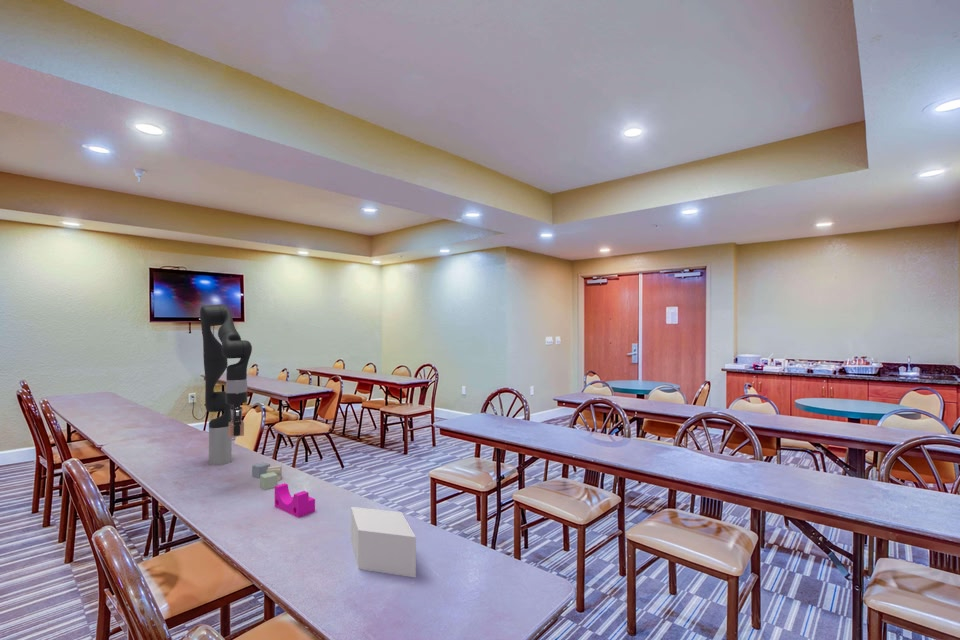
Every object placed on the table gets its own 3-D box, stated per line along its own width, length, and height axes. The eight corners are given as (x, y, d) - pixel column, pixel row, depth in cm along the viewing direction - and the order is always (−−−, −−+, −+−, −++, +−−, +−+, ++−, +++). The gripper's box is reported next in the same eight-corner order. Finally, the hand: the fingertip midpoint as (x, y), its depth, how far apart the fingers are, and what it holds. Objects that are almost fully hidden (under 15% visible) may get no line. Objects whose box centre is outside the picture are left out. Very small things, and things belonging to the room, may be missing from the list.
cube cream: (268, 478, 183) (268, 466, 183) (281, 477, 185) (281, 465, 185) (266, 482, 179) (266, 470, 179) (279, 481, 180) (280, 469, 180)
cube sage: (260, 487, 174) (260, 474, 174) (273, 484, 177) (273, 471, 177) (264, 490, 170) (264, 478, 170) (277, 487, 173) (277, 475, 173)
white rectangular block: (371, 532, 135) (371, 499, 136) (436, 565, 117) (436, 527, 117) (328, 551, 124) (328, 514, 125) (393, 590, 106) (393, 548, 106)
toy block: (315, 512, 151) (315, 490, 151) (298, 518, 146) (298, 495, 146) (291, 501, 160) (291, 481, 160) (274, 507, 155) (274, 486, 155)
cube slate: (252, 477, 186) (252, 465, 186) (263, 473, 190) (263, 462, 190) (258, 479, 183) (258, 467, 183) (270, 475, 187) (270, 464, 187)
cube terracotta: (228, 434, 174) (228, 422, 174) (242, 433, 176) (243, 420, 176) (229, 437, 169) (229, 424, 169) (243, 435, 172) (244, 422, 172)
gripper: (224, 389, 177) (224, 431, 177) (226, 394, 165) (226, 439, 165) (245, 388, 181) (245, 429, 181) (249, 392, 169) (248, 436, 169)
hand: (236, 433), depth 173 cm, fingers closed on cube terracotta, 5 cm apart
